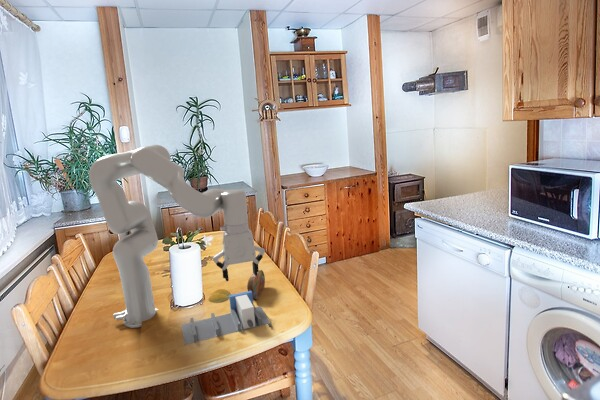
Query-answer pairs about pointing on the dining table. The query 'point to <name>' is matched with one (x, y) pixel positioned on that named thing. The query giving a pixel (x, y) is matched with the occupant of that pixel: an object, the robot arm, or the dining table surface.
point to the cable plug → (245, 311)
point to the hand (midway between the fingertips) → (241, 276)
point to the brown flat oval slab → (256, 284)
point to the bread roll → (219, 296)
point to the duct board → (221, 322)
